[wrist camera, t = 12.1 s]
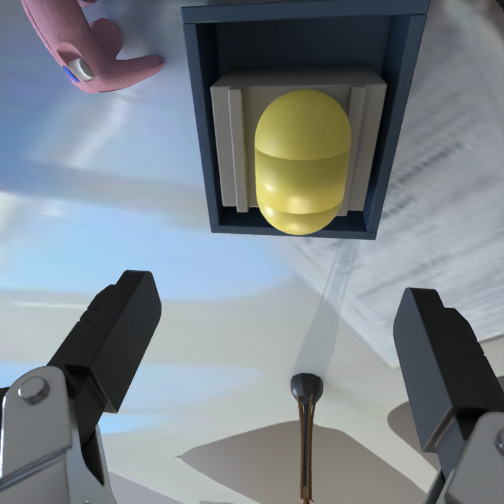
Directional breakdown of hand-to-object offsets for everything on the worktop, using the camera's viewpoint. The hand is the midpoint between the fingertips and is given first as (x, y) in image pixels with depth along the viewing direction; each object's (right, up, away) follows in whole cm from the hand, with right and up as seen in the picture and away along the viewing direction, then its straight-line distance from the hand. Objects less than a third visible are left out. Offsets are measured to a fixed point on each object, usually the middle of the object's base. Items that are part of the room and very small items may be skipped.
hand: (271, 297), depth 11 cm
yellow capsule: (+2, +8, +10) cm, 13 cm away
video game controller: (-11, +20, +14) cm, 26 cm away
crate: (+3, +12, +17) cm, 21 cm away
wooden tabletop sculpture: (+8, -18, +39) cm, 44 cm away
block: (+3, +12, +17) cm, 21 cm away
